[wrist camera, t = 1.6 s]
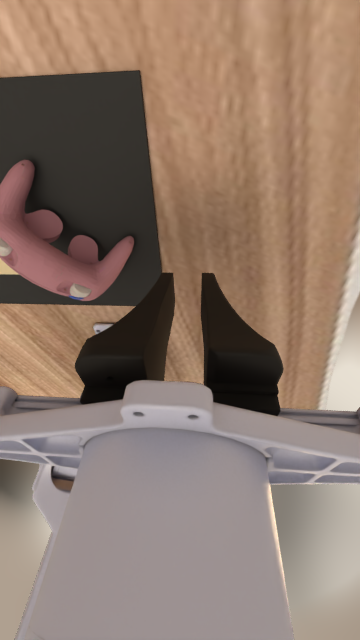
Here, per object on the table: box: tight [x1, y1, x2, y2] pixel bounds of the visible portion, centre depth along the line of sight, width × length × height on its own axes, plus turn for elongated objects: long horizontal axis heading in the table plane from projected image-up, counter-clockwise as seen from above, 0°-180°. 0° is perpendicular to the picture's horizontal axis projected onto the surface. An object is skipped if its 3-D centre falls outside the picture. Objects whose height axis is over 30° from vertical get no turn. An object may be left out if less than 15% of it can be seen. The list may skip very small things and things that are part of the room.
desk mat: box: [0, 70, 162, 306], centre depth 21 cm, size 18×26×1 cm
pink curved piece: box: [0, 160, 134, 301], centre depth 19 cm, size 10×5×7 cm, turn 50°
